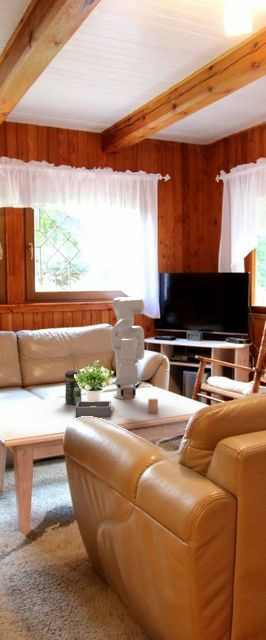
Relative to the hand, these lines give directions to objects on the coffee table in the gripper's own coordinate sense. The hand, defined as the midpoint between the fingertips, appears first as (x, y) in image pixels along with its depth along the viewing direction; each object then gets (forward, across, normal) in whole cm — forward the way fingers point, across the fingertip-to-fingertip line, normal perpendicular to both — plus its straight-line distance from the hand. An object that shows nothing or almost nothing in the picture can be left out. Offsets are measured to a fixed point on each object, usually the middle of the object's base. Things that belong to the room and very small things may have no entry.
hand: (128, 396), depth 276 cm
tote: (+10, +18, -2) cm, 20 cm away
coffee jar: (+11, +31, -26) cm, 42 cm away
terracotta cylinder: (+10, -13, -3) cm, 16 cm away
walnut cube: (+1, 0, 0) cm, 1 cm away
